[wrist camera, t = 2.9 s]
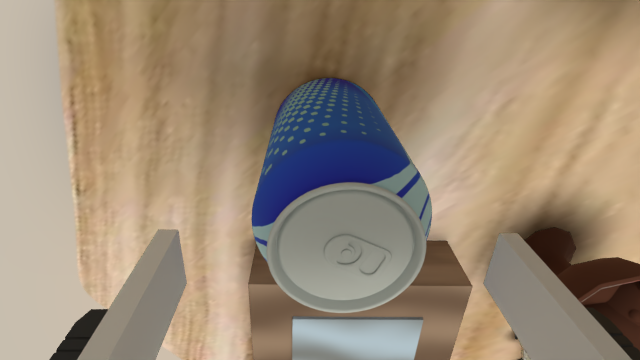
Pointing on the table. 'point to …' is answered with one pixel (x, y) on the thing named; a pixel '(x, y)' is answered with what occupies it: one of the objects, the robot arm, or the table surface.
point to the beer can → (339, 201)
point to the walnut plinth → (363, 318)
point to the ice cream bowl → (594, 280)
